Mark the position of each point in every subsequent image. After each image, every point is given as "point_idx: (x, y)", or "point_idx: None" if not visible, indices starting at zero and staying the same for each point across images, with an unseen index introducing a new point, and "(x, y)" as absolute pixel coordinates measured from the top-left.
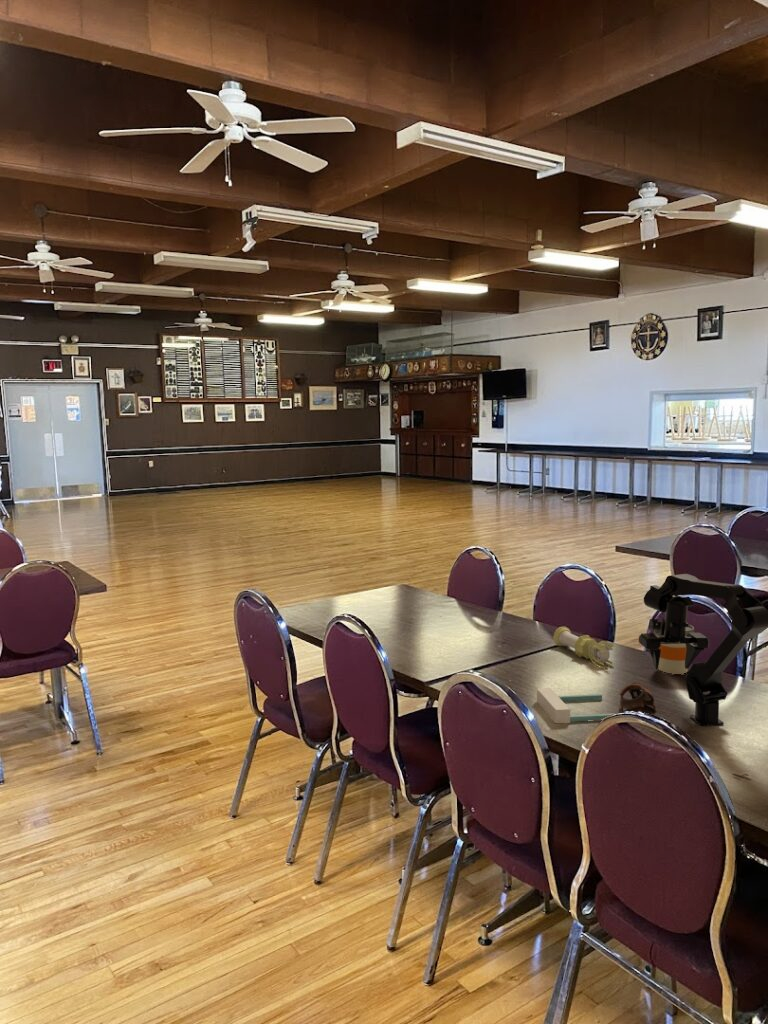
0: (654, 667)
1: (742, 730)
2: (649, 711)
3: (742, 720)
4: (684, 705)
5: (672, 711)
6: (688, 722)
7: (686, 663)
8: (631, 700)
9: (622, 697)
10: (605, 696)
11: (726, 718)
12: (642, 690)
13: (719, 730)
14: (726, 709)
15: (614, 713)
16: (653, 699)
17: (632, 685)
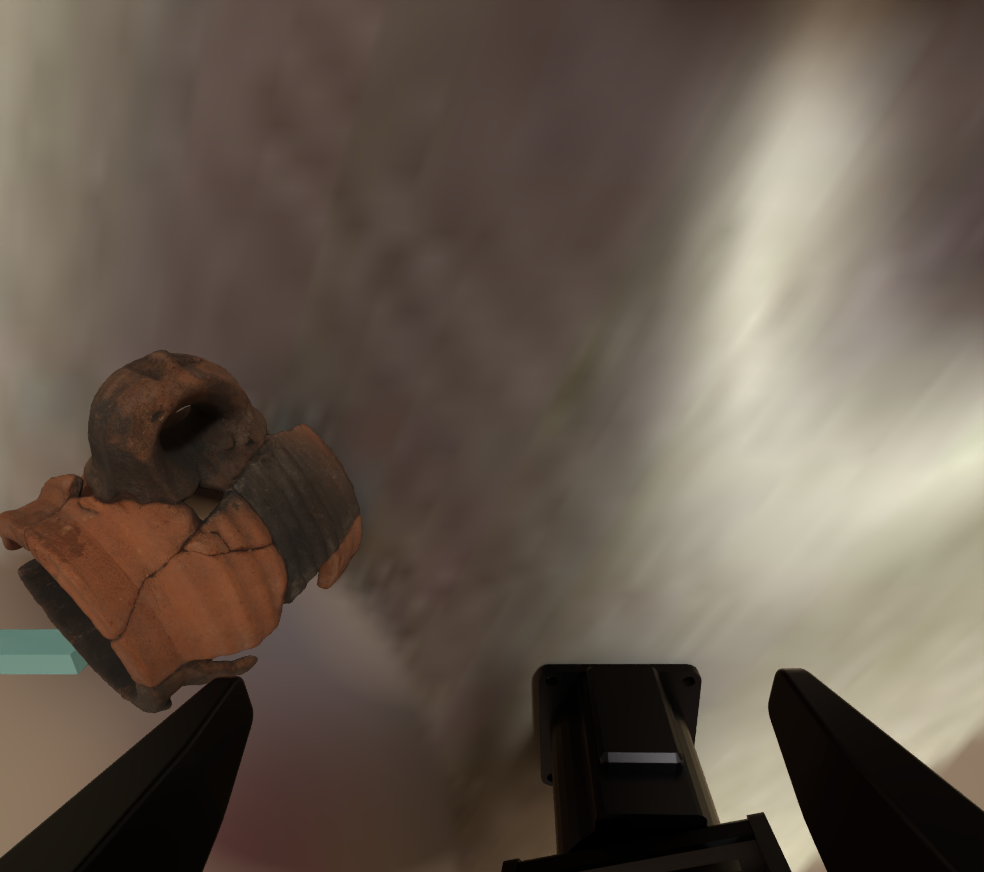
0: (206, 693)
1: None
2: None
3: None
4: (622, 471)
5: (472, 565)
6: (493, 721)
7: (817, 792)
8: (90, 663)
9: (26, 587)
10: (6, 195)
11: None
12: (139, 697)
13: None
14: (893, 574)
15: (17, 656)
16: (317, 570)
17: (55, 575)
